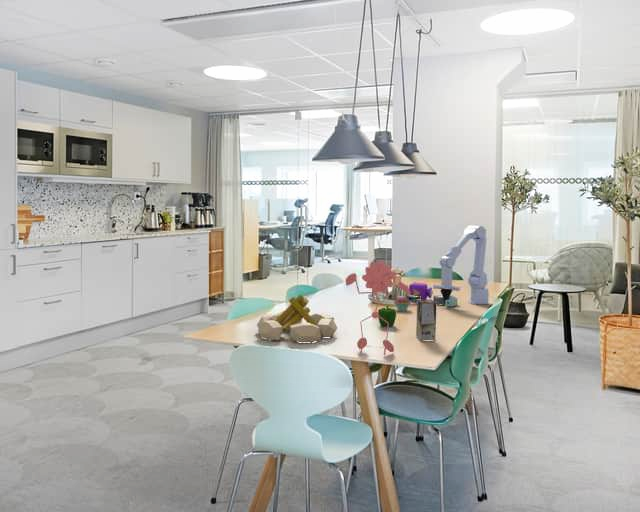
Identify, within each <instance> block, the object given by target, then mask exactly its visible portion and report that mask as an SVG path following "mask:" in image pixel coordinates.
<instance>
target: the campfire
mask: <svg viewBox="0 0 640 512" xmlns="http://www.w3.org/2000/svg"><path fill="white" fill-rule="evenodd" d="M288 302H289V306H287V307H286V309H285V310H283V311H280V312H278V313H276V314H271V313H270V314H269V313H268V314H267V313H266V314H263V315H262V316H261V317H260V319H259V320H258V322H257V324H256V326H257V328H258V329H257V332H258V333H259V334H260V337H261V338H262V337H263V338H266V339H268V340H276V341H279V340H280V338H281V336H282V334H283V333H285V334H286V333H287V332H288V331H290V338H291V339H292V340H293V341H295V342H296V341H298V342H314V341H317V340H318V341H320V340H322V338H321V337H331V336H332V335H333V336H334V334H335V333H336V331H337V330H338V325H337V324H336V323H335V321H334V320H335V317H334V316H332V315H331V314H329V313H327V312H318V313H313V314H311V315H310V314H309V313H310V311H311V309H310V307H308V306H307V305H308V304H309V302H310V301H309V300H308V299H307V298H305V297H304V296H303V295H301V294H299V295H298V296H297V297H295V296H293V297H292V298H291V299H289V300H288ZM303 319H304V321H305V322H303ZM333 336H332V337H333ZM332 337H331V338H332ZM268 340H267V341H268ZM318 341H317V342H318ZM298 342H297V343H298Z"/></svg>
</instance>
